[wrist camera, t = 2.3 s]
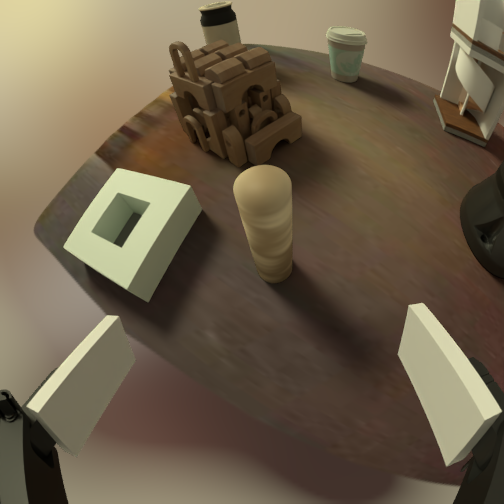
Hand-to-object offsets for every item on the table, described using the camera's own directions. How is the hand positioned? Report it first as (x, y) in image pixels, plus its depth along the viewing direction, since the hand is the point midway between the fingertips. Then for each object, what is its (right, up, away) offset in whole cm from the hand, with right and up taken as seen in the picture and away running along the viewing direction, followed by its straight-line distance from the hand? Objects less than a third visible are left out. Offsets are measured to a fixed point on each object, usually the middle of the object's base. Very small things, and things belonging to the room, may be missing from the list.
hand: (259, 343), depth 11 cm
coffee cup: (+20, +42, +37) cm, 60 cm away
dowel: (+2, +2, +20) cm, 20 cm away
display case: (+43, +31, +28) cm, 60 cm away
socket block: (-16, +6, +24) cm, 30 cm away
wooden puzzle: (-4, +25, +32) cm, 41 cm away
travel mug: (-6, +50, +44) cm, 67 cm away
